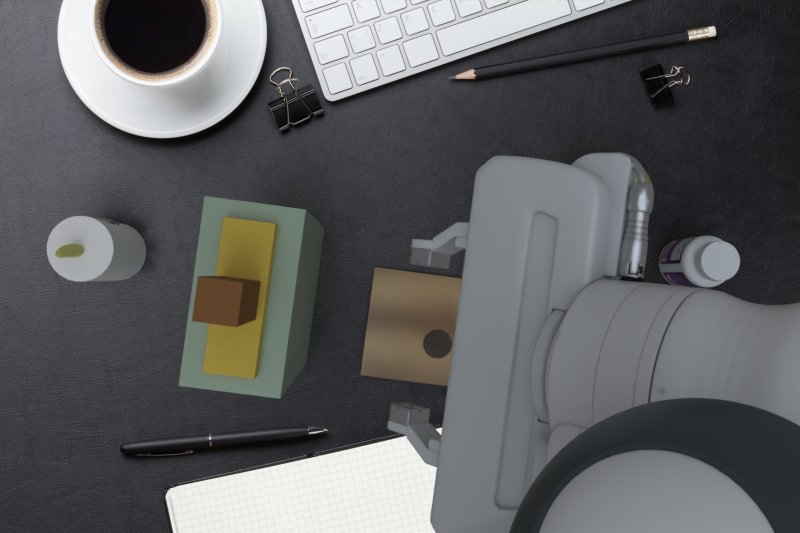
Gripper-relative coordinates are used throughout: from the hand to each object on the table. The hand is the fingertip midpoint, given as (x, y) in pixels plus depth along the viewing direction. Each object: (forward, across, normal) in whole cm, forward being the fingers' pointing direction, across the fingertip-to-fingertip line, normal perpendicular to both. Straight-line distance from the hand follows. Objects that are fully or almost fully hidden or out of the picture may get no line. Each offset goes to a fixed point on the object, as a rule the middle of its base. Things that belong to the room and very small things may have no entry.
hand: (406, 333), depth 44 cm
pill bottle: (+6, -9, +51) cm, 52 cm away
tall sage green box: (+37, 0, +20) cm, 42 cm away
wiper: (+20, 0, +3) cm, 20 cm away
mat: (+23, +2, +34) cm, 41 cm away
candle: (+50, -2, +7) cm, 50 cm away
